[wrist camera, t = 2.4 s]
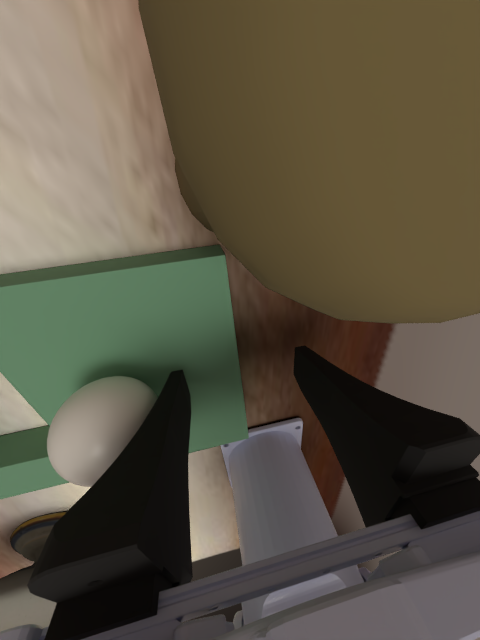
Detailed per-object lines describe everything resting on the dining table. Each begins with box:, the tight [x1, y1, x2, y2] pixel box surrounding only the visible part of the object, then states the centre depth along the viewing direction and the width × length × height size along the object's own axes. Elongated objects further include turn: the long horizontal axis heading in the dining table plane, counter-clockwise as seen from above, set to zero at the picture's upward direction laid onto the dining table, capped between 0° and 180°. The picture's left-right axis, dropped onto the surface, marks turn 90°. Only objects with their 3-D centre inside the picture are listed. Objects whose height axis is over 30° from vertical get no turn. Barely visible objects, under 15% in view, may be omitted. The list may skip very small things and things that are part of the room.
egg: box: [47, 376, 158, 487], centre depth 10 cm, size 4×4×4 cm
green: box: [0, 245, 249, 499], centre depth 13 cm, size 14×21×2 cm, turn 96°
